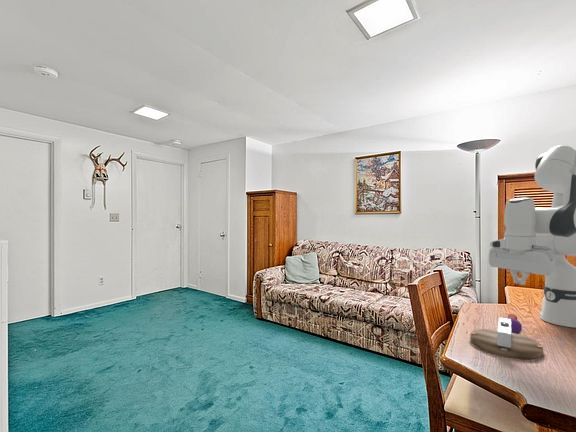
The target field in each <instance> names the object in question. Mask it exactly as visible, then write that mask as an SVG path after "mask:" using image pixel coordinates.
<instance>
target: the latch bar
mask: <svg viewBox="0 0 576 432" xmlns="http://www.w3.org/2000/svg"><path fill="white" fill-rule="evenodd" d="M507 318H508V317H506V318H505V317H500V316H499V317H498V324H497V330H498V345H499V346H504V347H509V348H511V319H507Z"/></svg>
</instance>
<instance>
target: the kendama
mask: <svg viewBox="0 0 576 432" xmlns="http://www.w3.org/2000/svg"><path fill="white" fill-rule="evenodd" d="M506 318H507V319H511V333H515V334H519V335H520V333H522V331H523V327H522V324H521V322H520V321H519V320H518V317H517V315H516V314H514V313H509V314H508V315H507V317H506Z"/></svg>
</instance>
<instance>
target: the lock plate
mask: <svg viewBox="0 0 576 432" xmlns="http://www.w3.org/2000/svg"><path fill="white" fill-rule="evenodd" d="M469 335H470V342H471V344H472V345H473V346H475V347H476V348H477V349H479V350H481V351H483V352H485V353H489V354H492V355H495V356H498V357H502V358H506V359H512V360H520V361H535V360H539V359H542V358H543V356H544V348H543V347H544V346H543V345H542V344H541V343H540V342H538V341H536V340H534V339H532V338H530V337H528V336H525V335H522V334H520V333H519V334H515V333H511V348H509V347H504V346H499V345H498V329H489V328H488V329H487V328H483V329H482V328H481V329H475V330H473V331H471V332H470V334H469Z"/></svg>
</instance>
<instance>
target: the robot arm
mask: <svg viewBox="0 0 576 432" xmlns="http://www.w3.org/2000/svg"><path fill="white" fill-rule="evenodd" d="M534 168H535V171H534V176H533V177H534V181H535V183H536V184H537V185H538V187H540V188H542V189H543V190H545V191H547V192H551V193H553V196H552V200H551V201H552V202H551V207H550V206H549V207H536V206H535V201H534V199H533V198H532V197H516V198H510V199H508V200H507V201H506V202H505V208H504V213H503V214H504V216H503V224H504V228H505V229H504V234H503V238H500V239H496V240H492V241H490V242H489V246H490V249H489V253H488V264H489V267H492V268H497V269H504V270H509V273H510V275H511V277H512V278H513V284H517V285H520V286H522V285H523V286H525V285H526V281H527V279H528V278H529V276H530V274H535V275H541V276H544V284H545V285H543V295H544V296H543V298H542V303H541V311H540V312H539V317H540V318H539V319H540V320H541V321H545V322H546V323H550V324H553V325H556V326H562V327H568V328H574V329H575V328H576V266H575V265H574V264H571V263H570V261H568V259H567V258H566V256H571V257H576V148H573V147H572V146H569V145H557V146H553V147H551V148H550V149H549V150H547V152H544V153H541V154H540V155H539V156H538V157H537V158H536V161H535V166H534ZM519 272H520V275H521V278H520V277H519V276H518V273H519Z"/></svg>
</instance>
